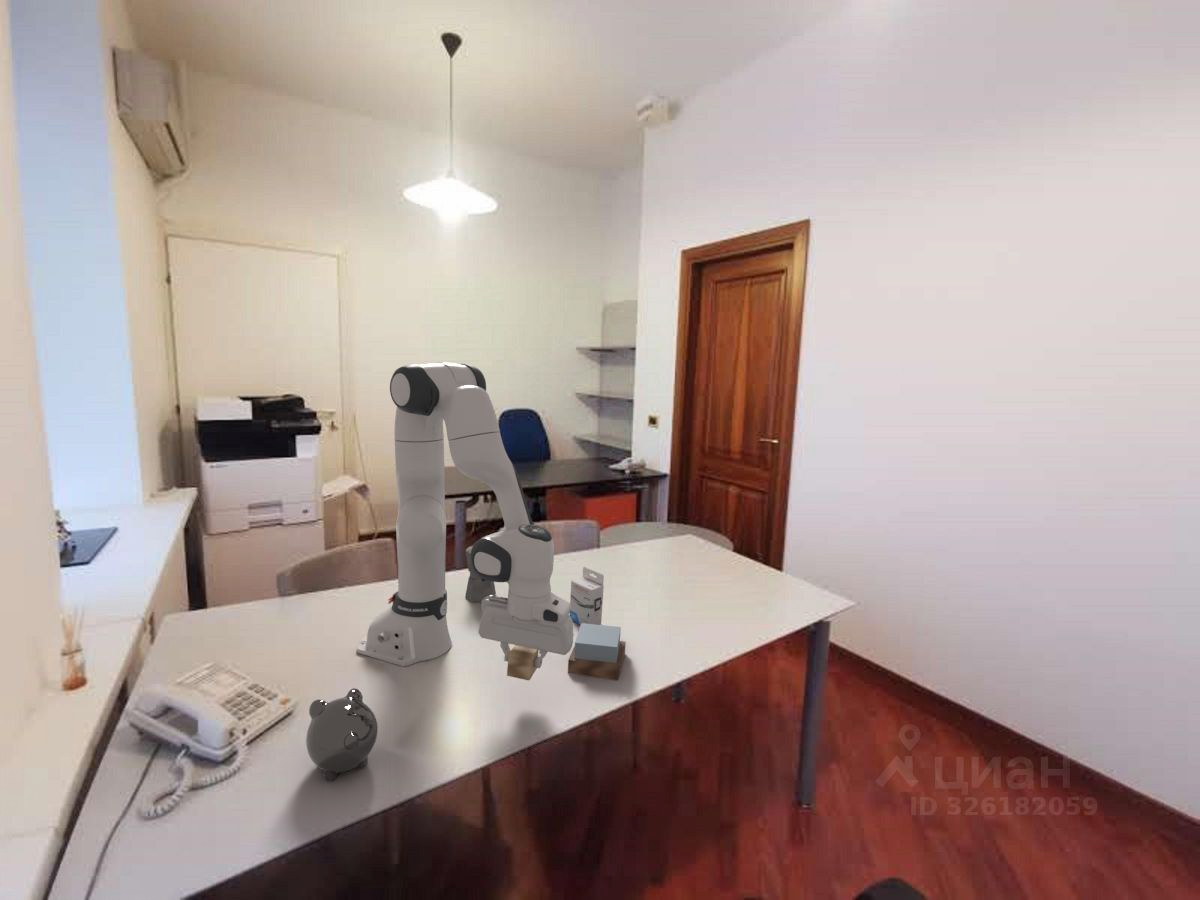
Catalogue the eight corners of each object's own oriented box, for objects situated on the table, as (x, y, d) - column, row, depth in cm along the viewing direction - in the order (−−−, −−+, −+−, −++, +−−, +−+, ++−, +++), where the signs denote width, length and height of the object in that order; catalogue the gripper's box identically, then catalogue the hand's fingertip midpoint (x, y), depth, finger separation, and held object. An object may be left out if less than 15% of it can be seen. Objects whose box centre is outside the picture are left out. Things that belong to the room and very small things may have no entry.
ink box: (568, 619, 155) (570, 570, 152) (580, 614, 158) (582, 566, 156) (589, 630, 149) (592, 579, 147) (602, 624, 152) (604, 574, 150)
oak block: (506, 675, 114) (508, 653, 113) (515, 663, 119) (517, 642, 118) (529, 680, 113) (531, 658, 112) (536, 668, 118) (538, 646, 117)
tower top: (574, 658, 128) (574, 642, 127) (580, 637, 138) (581, 623, 137) (616, 663, 127) (617, 647, 126) (619, 641, 137) (620, 627, 136)
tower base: (567, 675, 128) (568, 659, 127) (578, 649, 140) (579, 635, 139) (617, 682, 126) (618, 667, 125) (624, 656, 138) (625, 641, 137)
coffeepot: (463, 588, 172) (463, 534, 169) (493, 586, 175) (494, 532, 172) (467, 610, 157) (468, 550, 154) (500, 606, 160) (501, 548, 158)
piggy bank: (363, 728, 105) (362, 674, 104) (388, 775, 94) (387, 715, 92) (299, 751, 99) (296, 693, 97) (317, 805, 87) (315, 741, 85)
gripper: (476, 599, 113) (471, 660, 115) (570, 617, 109) (564, 681, 111) (488, 588, 119) (483, 646, 121) (578, 605, 115) (572, 665, 117)
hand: (523, 663), depth 116 cm, fingers closed on oak block, 5 cm apart
